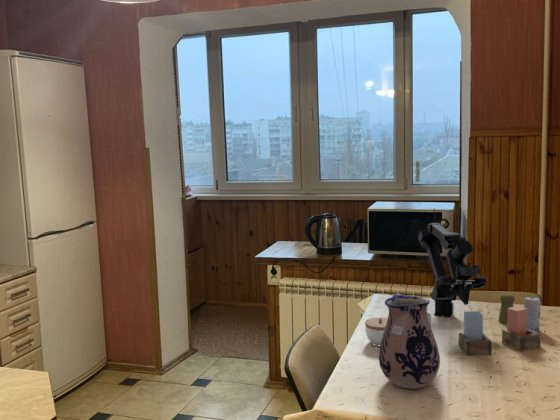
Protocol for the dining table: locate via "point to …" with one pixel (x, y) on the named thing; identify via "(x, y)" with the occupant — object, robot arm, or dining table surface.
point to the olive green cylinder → (505, 306)
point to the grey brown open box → (475, 345)
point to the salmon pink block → (517, 320)
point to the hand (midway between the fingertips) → (466, 304)
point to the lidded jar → (375, 329)
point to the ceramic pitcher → (408, 343)
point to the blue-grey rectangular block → (473, 325)
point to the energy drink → (532, 312)
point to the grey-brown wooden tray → (521, 339)
